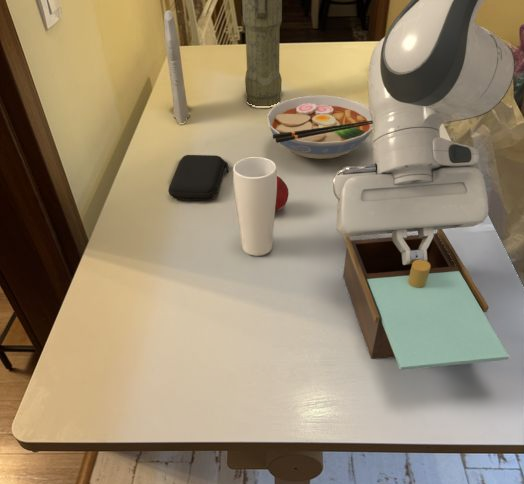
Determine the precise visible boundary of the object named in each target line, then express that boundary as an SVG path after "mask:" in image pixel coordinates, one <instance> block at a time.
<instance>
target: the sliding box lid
mask: <svg viewBox="0 0 524 484" xmlns="http://www.w3.org/2000/svg"><path fill="white" fill-rule="evenodd" d="M430 267H431V266H430V264H429V262H427V261H425V260H415V261H414V262H413V263H412V267H411V270H407V271H395V272H384V273H373V274H365V280H366V282H367V285H368V288H369V290H370V293H371V295H372V298H373V301H374V303H375V306H376V308H377V311H378V314H379V316H380V319H381V321H382V324H383V327H384V329H385V332H386V334H387V337H388V340H389V342H390V345H391V347H392V350H393V353H394V355H395V356H394V358H395V360H396V364H397V366H398V368H399V371H407V370H417V369H426V368H436V367H437V368H438V367H446V366H447V367H448V366H456V365H467V364H477V363H487V362H495V361H496V362H497V361H507V360H509V358H510V355H509V354H508V352H507V350H506V349H505V347H504V345H503V343H502V342H501V340H500V338H499V336H498V334H497V333H496V331H495V330H494V328H493V326H492V324H491V323H490V321H489V319H488V317H487V316H486V314H485V313H483V311H482V309H481V307H480V306H479V304H478V302H477V301H476V299H475V297H474V295H473V294H472V292H471V290H470V289H469V287H468V285H467V284H466V282H465V280H464V278H463V277H462V275H461V273H460V272H459V269H458V267H457V266H452V267H441V268H430Z"/></svg>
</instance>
